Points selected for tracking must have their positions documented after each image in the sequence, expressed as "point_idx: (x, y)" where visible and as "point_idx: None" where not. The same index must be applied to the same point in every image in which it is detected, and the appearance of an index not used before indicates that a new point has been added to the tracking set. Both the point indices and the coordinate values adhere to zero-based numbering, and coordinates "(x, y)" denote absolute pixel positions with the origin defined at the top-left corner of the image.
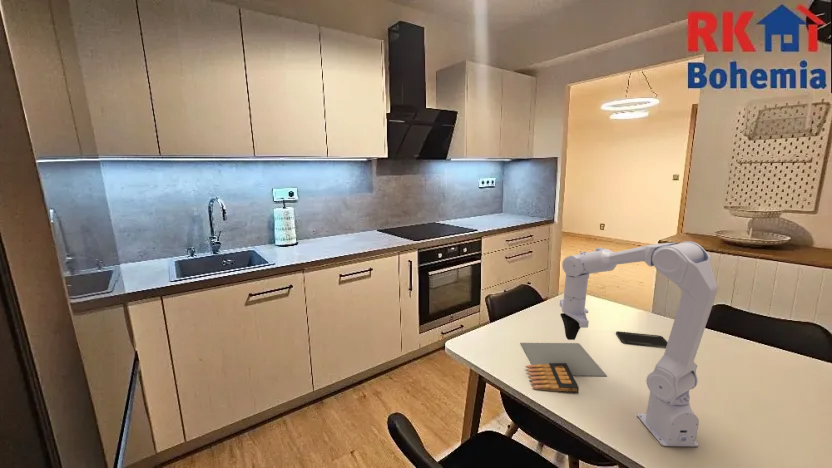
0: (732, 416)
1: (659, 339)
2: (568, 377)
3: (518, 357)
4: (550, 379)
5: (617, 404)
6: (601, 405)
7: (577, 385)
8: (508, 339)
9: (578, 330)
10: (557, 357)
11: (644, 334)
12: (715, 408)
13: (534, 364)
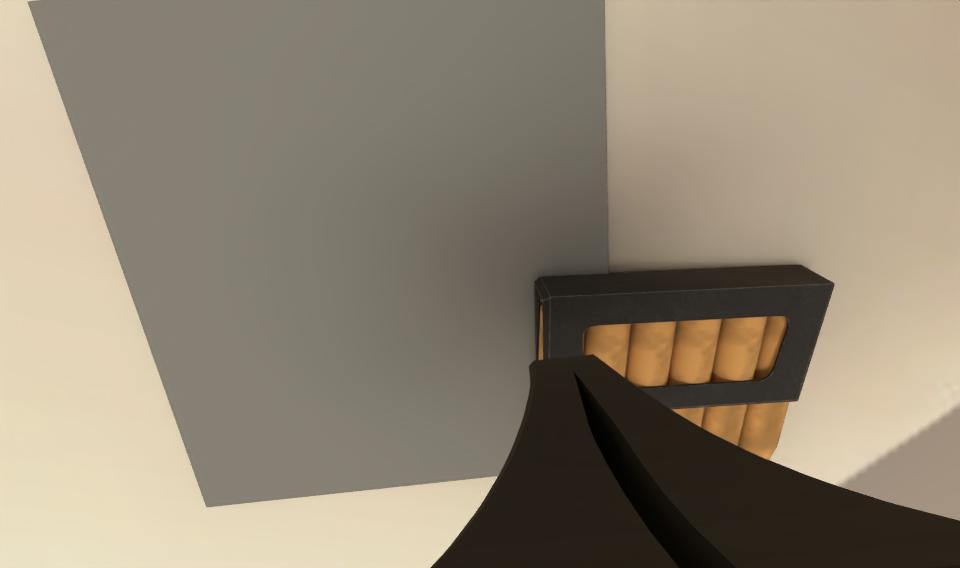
0: None
1: None
2: (714, 320)
3: (407, 531)
4: (701, 424)
5: (942, 22)
6: (930, 149)
7: (815, 287)
8: (172, 563)
9: (700, 433)
10: (370, 292)
11: None
12: None
13: (492, 463)
